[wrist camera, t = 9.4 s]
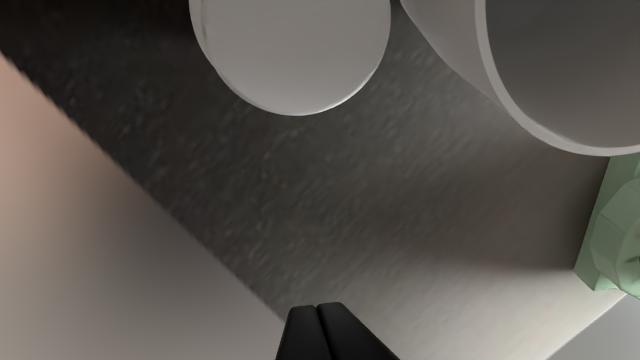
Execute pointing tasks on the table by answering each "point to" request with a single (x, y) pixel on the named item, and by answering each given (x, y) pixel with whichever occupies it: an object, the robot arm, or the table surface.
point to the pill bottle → (293, 49)
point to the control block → (614, 230)
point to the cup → (547, 64)
